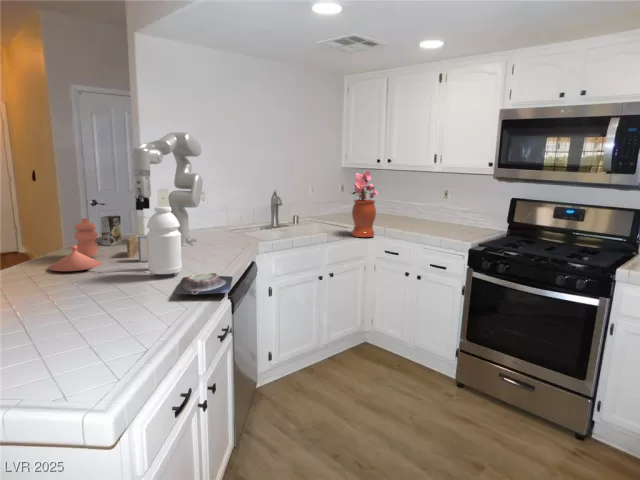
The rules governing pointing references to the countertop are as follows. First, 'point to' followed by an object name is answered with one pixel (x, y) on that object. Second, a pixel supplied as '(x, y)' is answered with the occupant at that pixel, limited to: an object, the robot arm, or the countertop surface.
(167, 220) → the bottle
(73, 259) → the ceramic vessels
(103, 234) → the coffee box
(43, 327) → the countertop surface
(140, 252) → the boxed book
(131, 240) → the oak shelf
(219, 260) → the countertop surface
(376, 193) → the potted flower
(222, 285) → the quiche
